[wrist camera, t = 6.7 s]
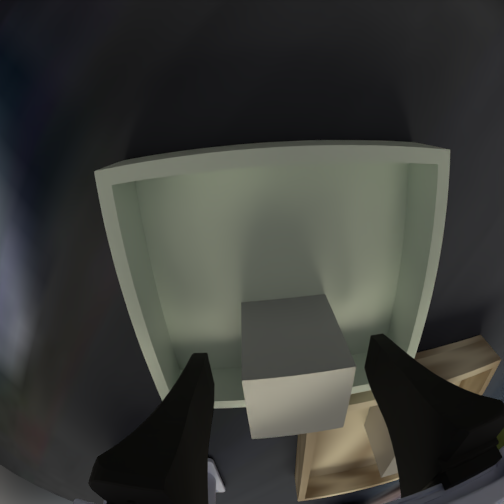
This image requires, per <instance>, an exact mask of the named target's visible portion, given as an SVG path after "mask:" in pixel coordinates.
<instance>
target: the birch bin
mask: <svg viewBox="0 0 504 504" xmlns="http://www.w3.org/2000/svg"><path fill="white" fill-rule="evenodd" d="M414 359H415V360H416V361H418V362H419V363H420V364H422V365H423V366H424V367H426V368H427V369H429V370H430V371H432V372H433V373H435V374H436V375H438V376H440V377H441V378H443V379H445V380H447V381H448V382H450V383H452V384H454V385H456V386H459V387H461V388H463V389H465V390H468V391H470V392H473V393H476V394H479V395H482V394H483V392H484V391H485V389H486V387H487V385H488V384H489V382H490V380H491V378H492V376H493V374H494V372H495V371H496V369H497V367H498V365H499V363H500V361H501V358H500V357H499V356H498V355H497V354H496V352H495V351H494V350H493V349H492V348H491V346H490V345H489V344H488V343H487V342H486V341H485V339H484V338H483V337H482V336H481V335H478V336H475V337H472V338H469V339H465V340H462V341H459V342H455V343H452V344H448V345H445V346H441V347H438V348H434V349H430V350H426V351H422V352H418V353H416V355H415V358H414ZM376 405H378V404H377V402H376V400H375V398H374V395H373V393H372V391H371V390H370V391H365V392H360V393H355V394H351V396H350V400H349V405H348V409H347V414H346V418H345V422H344V426H343V427H342V428H336V429H331V430H325V431H319V432H312V433H305V434H298V440H297V454H296V467H295V483H296V490H297V498H298V501H305V500H312V499H318V498H324V497H330V496H335V495H340V494H345V493H350V492H354V491H358V490H362V489H366V488H370V487H374V486H378V485H381V484H385V483H388V482H391V481H395V480H398V479H399V475H398V473H396V474H392V475H389V476H386V477H382V478H381V476H380V473H379V470H378V467H377V463H376V460H375V457H374V454H373V451H372V448H371V445H370V442H369V439H368V436H367V433H366V430H365V427H364V423H365V420H366V417H367V414H368V411H369V408H370V407H372V406H376Z"/></svg>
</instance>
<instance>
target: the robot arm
mask: <svg viewBox="0 0 504 504" xmlns="http://www.w3.org/2000/svg"><path fill="white" fill-rule="evenodd" d="M364 368H365V372H366V376H367V379H368V382H369V386H370V388H371V391H372V393H373V395H374V398H375V400H376V402H377V404H378V407H379V409H380V411H381V414H382V416H383V418H384V421H385V423H386V426H387V428H388V432H389V435H390V439H391V442H392V446H393V450H394V455H395V459H396V464H397V469H398V475H399V482H400V490H401V499H398V500H395V501H391V502H388V503H385V504H501V503H502V502H504V446H503V447H502V448H500V449H499V450H498V448H497V446H496V445H498V444H499V441H498V439H497V436H498V434H499V433H500V432H501V431H502V429H503V428H504V403H503V402H502V401H501V400H497V399H493V398H489V397H485V396H482V395H479V394H476V393H473V392H470V391H468V390H465V389H463V388H461V387H459V386H456V385H454V384H452V383H450V382H448V381H447V380H445V379H443V378H441V377H440V376H438V375H436V374H435V373H433V372H432V371H430V370H429V369H427V368H426V367H424V366H423V365H422V364H420V363H419V362H418V361H416V360H415V359H414V358H412V357H411V356H410V355H409V354H407V353H406V352H405V351H404V350H402V349H401V348H400V347H399V346H398V345H396V344H395V343H394V342H393V341H392V340H391V339H389V338H388V337H387V336H386V335H384V334H383V333H382V334H376V335H371V337H370V342H369V347H368V352H367V357H366V362H365V366H364ZM214 387H215V384H214V380H213V375H212V371H211V367H210V363H209V358H208V354H207V353H193V354H192V355H191V357H190V359H189V361H188V363H187V364H186V366H185V368H184V370H183V371H182V373H181V375H180V376H179V378H178V379H177V381H176V383H175V384H174V386H173V387H172V389H171V390H170V392H169V393H168V394H167V396H166V397H165V398H164V400H163V401H162V402H161V404H160V405H159V406H158V407H157V408H156V410H155V411H154V412H153V413H152V414H151V415H150V416H149V417H148V418H147V419H146V420H145V421H144V422H143V423H142V424H141V425H140V426H139V427H138V428H137V429H136V430H135V431H134V432H133V433H131V434H130V435H129V436H128V437H126V438H125V439H124V440H123V441H121V442H120V443H119V444H117V445H116V446H114V447H113V448H111V449H110V450H108V451H106V452H105V453H103V454H101V455H100V456H98V457H97V459H96V461H95V463H94V466H93V469H92V472H91V476H90V479H89V486H90V487H91V489H92V490H93V491H94V492H96V493H97V494H98V495H99V496H100V497H102V498H103V499H104V503H103V504H215V501H216V492H225V486H224V484H223V481H222V479H221V477H220V475H219V472H218V470H217V468H216V465H215V463H214V461H213V459H211V458H208V446H209V438H210V431H211V424H212V417H213V410H214ZM73 504H95V503H91V502H88V501H84V500H81V499H77V498H76V499H74V502H73Z"/></svg>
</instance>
